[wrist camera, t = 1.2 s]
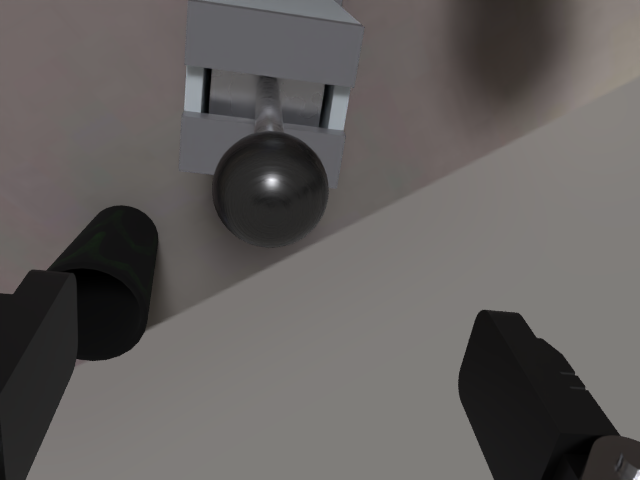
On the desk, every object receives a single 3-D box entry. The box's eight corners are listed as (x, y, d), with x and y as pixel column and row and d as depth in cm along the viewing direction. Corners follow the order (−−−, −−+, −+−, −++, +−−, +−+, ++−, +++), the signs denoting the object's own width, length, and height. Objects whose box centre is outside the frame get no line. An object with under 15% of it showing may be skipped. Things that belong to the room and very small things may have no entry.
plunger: (330, 37, 32) (390, 126, 17) (313, 145, 34) (353, 307, 19) (216, 21, 31) (172, 99, 16) (208, 132, 33) (163, 291, 18)
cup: (131, 291, 54) (98, 380, 43) (57, 237, 51) (2, 317, 40) (189, 234, 52) (170, 311, 41) (116, 174, 49) (74, 241, 38)
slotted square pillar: (343, -18, 44) (389, 7, 28) (322, 118, 48) (352, 208, 32) (202, -41, 43) (165, -28, 27) (193, 102, 47) (157, 187, 31)
